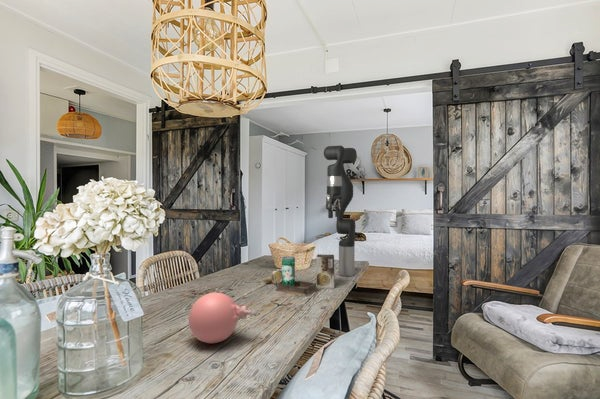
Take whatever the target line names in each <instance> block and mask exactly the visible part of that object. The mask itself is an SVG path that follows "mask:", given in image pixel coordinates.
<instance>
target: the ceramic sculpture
mask: <svg viewBox="0 0 600 399" xmlns="http://www.w3.org/2000/svg"><path fill="white" fill-rule="evenodd" d="M262 282H263V283H268V284H269V283H273V284H275V285H276V286H277V283H279V282H282V267H278V268H276V270H274V271H272V272H271V274H270V275H269V276H267V277H266V279H264V280H262Z"/></svg>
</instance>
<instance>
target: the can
mask: <svg viewBox="0 0 600 399" xmlns="http://www.w3.org/2000/svg"><path fill="white" fill-rule="evenodd" d="M295 265H296V257H295V256H282V257H281V269H282V284H287V285H291V286H294V287H295V281H296V279H295V278H296V277H295V276H296V274H295V273H296V271H295V270H296V266H295Z"/></svg>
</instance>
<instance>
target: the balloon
mask: <svg viewBox="0 0 600 399" xmlns="http://www.w3.org/2000/svg"><path fill="white" fill-rule="evenodd" d="M252 314H253V312H252V310H250V309H249V308H248V306H247V305H243V306H239V305H238V304H237V303H235V302H234V300H233V299H232V298H231V297H230V296H229V295H226V294H225V293H222V292H210V293H206V294H204V295H202V296H200V297H199V298H198V299H197V300H195V302H194V303H193V305H192V306H191V309H190V311H189V314H188V327H189V329H190V331H191V333H192V335H193V336H194V337H195V338H196V339H197V340H199V341H200V342H202V343H205V344H217V343H221V342H224V341H225V340H227V338H229V337H230V336H231V335H232V334H233V333H234V331H235V330H236V327H237V326H238V325H237V324H238V322H239V321H240V320H243V319H244V320H245V319H246V318H247V316H249V315H250V316H251V315H252Z"/></svg>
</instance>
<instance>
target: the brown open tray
mask: <svg viewBox="0 0 600 399" xmlns="http://www.w3.org/2000/svg"><path fill="white" fill-rule="evenodd" d="M275 291H276V292H282V293H285V294H286V293H287V294H292V295H297V296H303V297H304V296H305V297H306V296H308V295H310V294H312V293H314V292H315V291H317V282H316V283H315V282H307V281H303V280H302V281H301V280H298V281H297V280H295V287H294V286H291V285H287V284H282V282H279V283H277V285H276V289H275Z"/></svg>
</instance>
